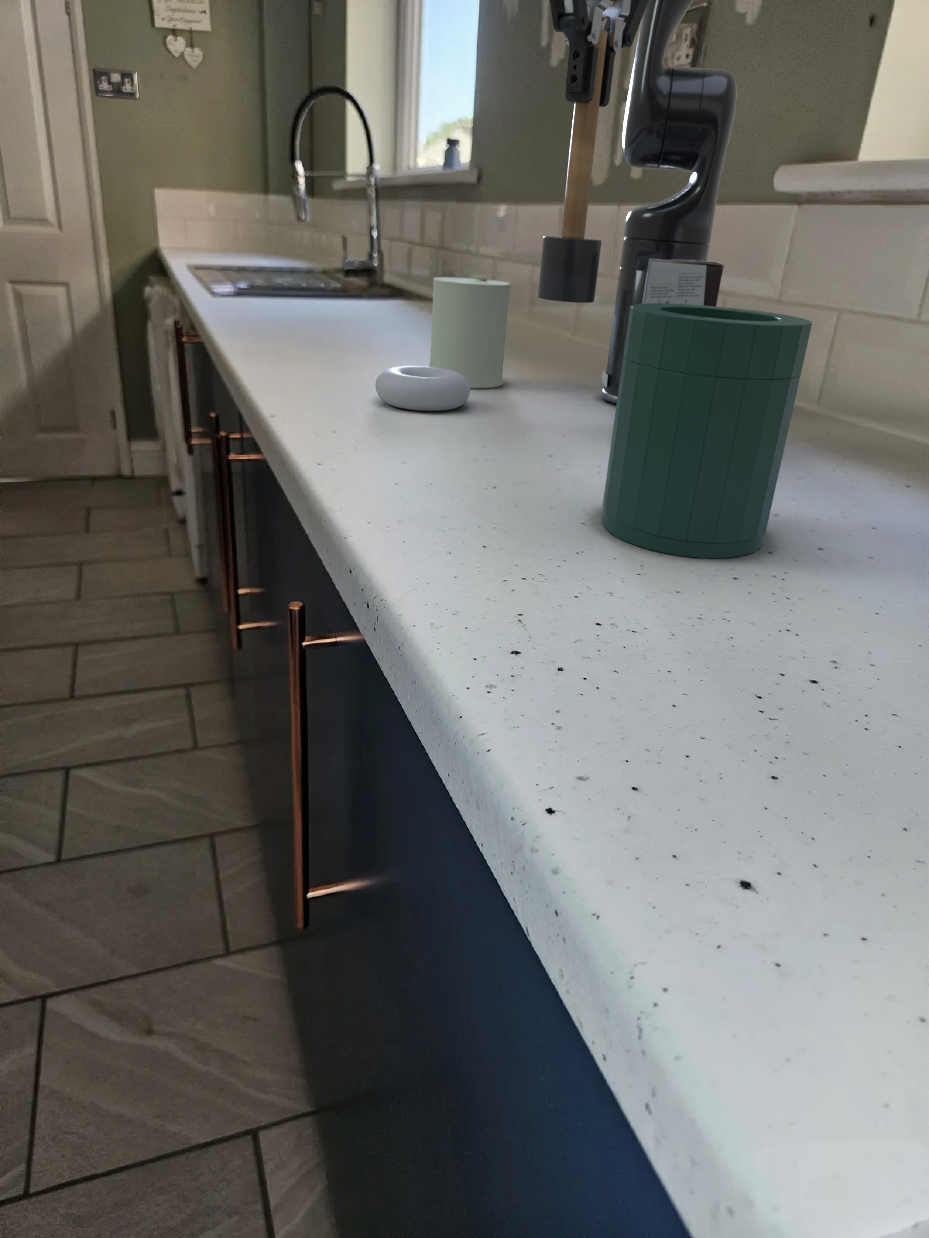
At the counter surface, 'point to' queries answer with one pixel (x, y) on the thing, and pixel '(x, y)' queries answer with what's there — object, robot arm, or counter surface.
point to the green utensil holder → (701, 427)
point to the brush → (576, 210)
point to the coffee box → (682, 282)
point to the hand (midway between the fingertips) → (586, 103)
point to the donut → (422, 388)
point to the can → (470, 328)
